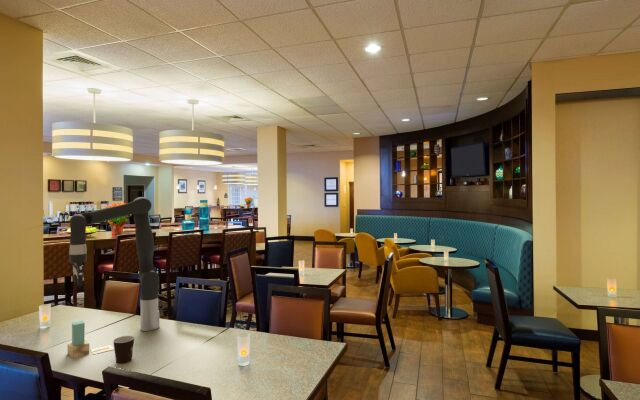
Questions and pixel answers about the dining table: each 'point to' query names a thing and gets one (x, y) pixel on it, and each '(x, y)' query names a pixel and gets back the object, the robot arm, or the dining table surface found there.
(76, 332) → the tall block
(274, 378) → the dining table surface
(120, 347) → the coffee mug
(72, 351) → the base brick
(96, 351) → the page
